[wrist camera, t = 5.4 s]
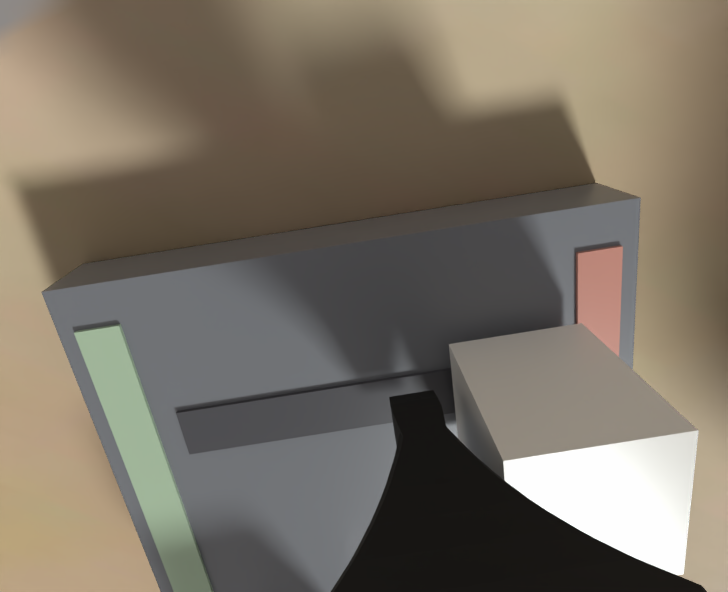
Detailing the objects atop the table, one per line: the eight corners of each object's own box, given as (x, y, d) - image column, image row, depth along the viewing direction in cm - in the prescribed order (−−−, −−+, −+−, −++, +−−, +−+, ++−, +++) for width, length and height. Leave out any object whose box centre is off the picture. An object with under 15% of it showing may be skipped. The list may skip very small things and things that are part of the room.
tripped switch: (581, 323, 12) (698, 430, 8) (581, 434, 13) (683, 574, 9) (448, 344, 12) (503, 461, 8) (459, 453, 13) (511, 601, 9)
